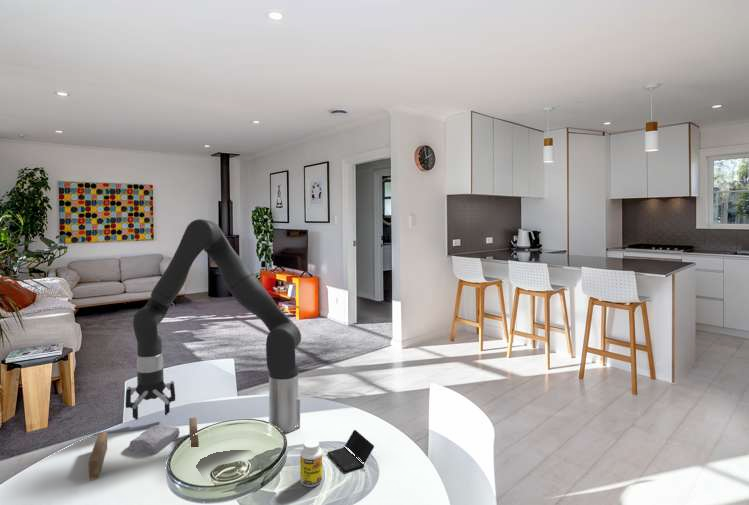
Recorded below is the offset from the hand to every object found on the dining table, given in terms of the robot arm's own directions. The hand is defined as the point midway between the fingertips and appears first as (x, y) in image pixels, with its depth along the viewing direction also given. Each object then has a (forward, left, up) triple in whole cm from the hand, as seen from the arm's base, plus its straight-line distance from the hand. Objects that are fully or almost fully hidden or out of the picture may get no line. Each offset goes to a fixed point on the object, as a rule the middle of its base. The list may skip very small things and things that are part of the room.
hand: (151, 416), depth 144 cm
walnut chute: (0, +20, -2) cm, 20 cm away
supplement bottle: (-39, +50, -3) cm, 64 cm away
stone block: (-1, +14, -3) cm, 14 cm away
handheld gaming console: (-52, +44, -3) cm, 68 cm away
